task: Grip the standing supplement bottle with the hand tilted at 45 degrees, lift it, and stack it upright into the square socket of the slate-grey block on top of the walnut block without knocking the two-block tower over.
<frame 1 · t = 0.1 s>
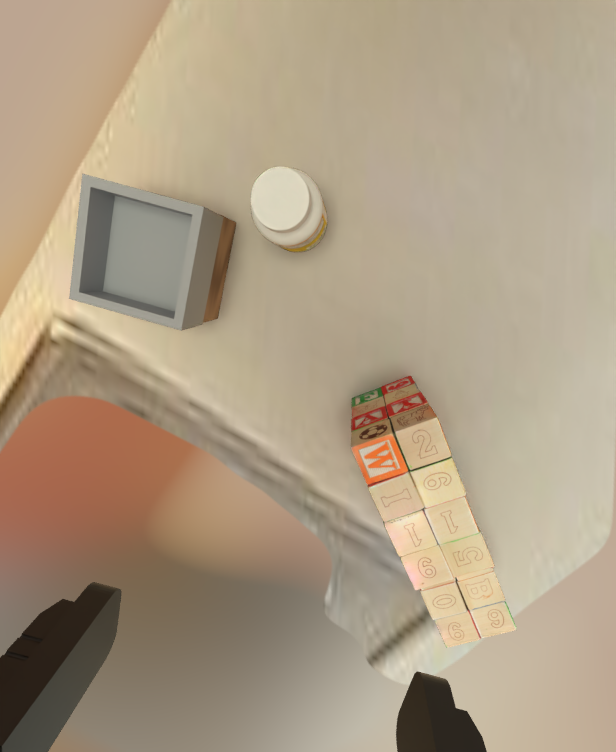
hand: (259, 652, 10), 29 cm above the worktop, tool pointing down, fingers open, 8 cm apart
stack of blocks: (417, 477, 40), on the worktop
tower top: (161, 258, 33), point 4 cm above the worktop, touching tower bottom
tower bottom: (182, 260, 37), on the worktop, touching tower top
supplement bottle: (298, 221, 35), on the worktop
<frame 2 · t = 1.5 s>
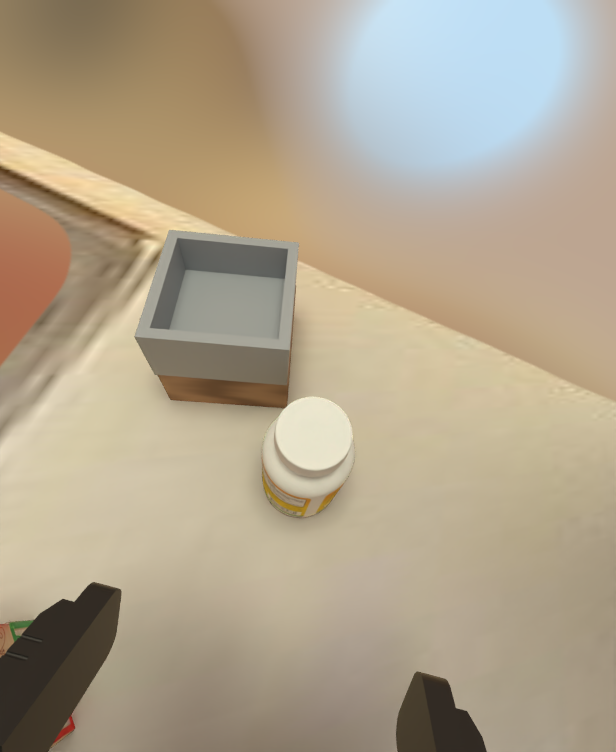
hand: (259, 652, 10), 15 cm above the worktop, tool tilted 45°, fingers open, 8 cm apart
tower top: (230, 326, 29), point 4 cm above the worktop, touching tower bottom
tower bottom: (236, 357, 33), on the worktop, touching tower top
supplement bottle: (300, 480, 28), on the worktop
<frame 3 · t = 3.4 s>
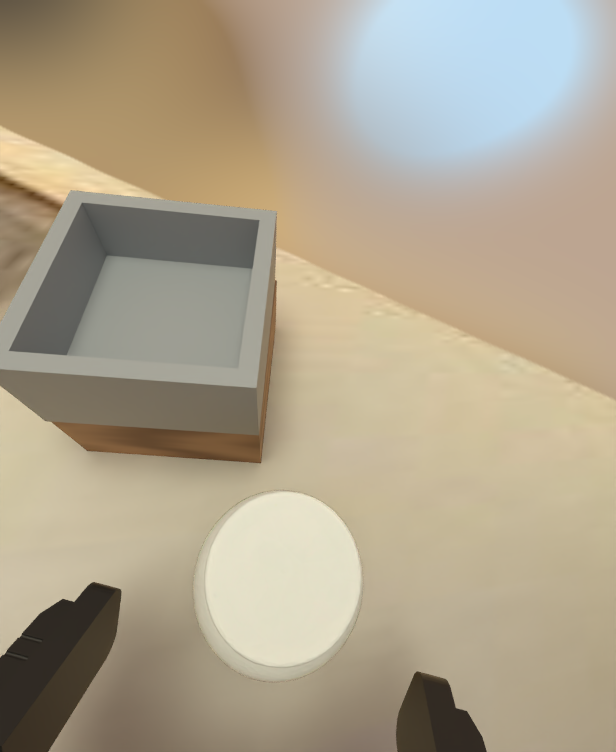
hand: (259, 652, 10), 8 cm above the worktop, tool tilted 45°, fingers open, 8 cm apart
tower top: (175, 341, 19), point 4 cm above the worktop, touching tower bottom
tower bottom: (192, 383, 23), on the worktop, touching tower top
supplement bottle: (275, 582, 18), on the worktop
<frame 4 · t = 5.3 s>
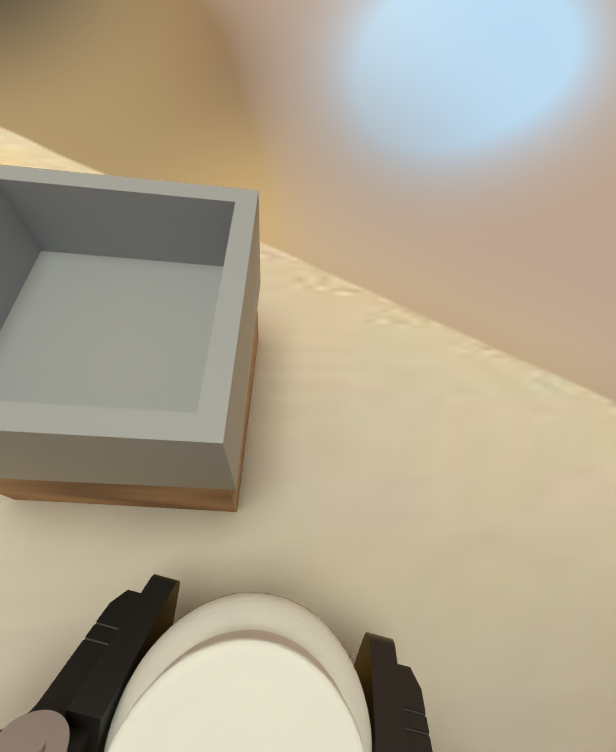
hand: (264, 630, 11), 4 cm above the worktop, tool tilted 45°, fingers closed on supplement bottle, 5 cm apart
tower top: (129, 362, 15), point 4 cm above the worktop, touching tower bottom
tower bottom: (154, 409, 19), on the worktop, touching tower top
supplement bottle: (251, 679, 14), on the worktop, touching gripper
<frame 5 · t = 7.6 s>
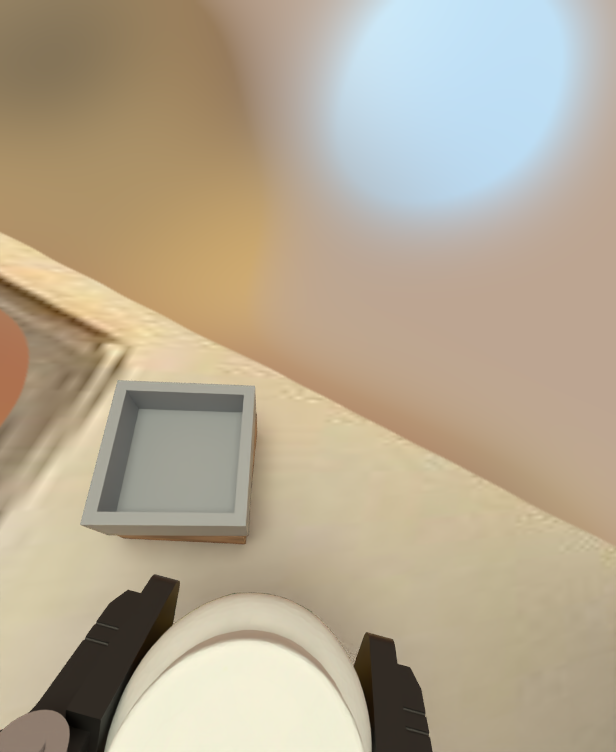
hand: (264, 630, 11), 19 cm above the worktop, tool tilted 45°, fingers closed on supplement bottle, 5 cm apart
tower top: (188, 468, 28), point 4 cm above the worktop, touching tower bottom
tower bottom: (196, 482, 32), on the worktop, touching tower top
supplement bottle: (251, 679, 14), point 15 cm above the worktop, touching gripper
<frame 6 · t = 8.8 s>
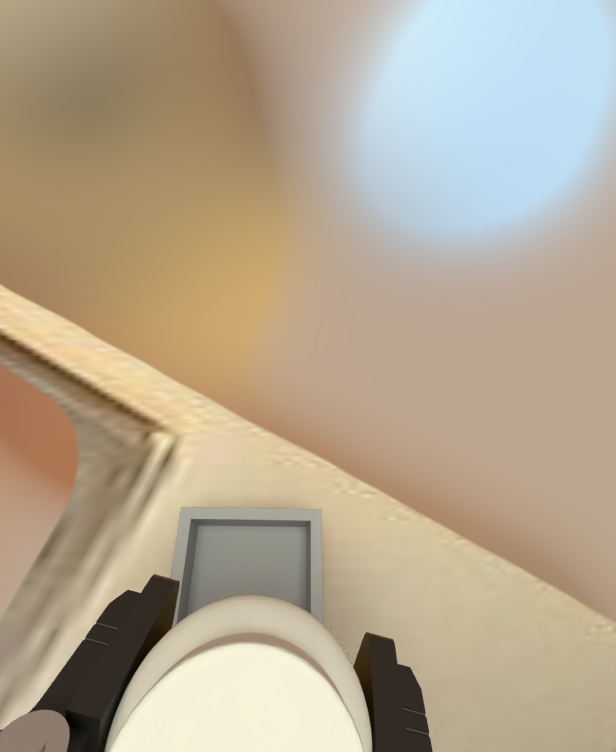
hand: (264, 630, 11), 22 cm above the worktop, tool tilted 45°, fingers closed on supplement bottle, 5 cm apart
tower top: (250, 587, 27), point 4 cm above the worktop, touching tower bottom
supplement bottle: (251, 681, 14), point 18 cm above the worktop, touching gripper
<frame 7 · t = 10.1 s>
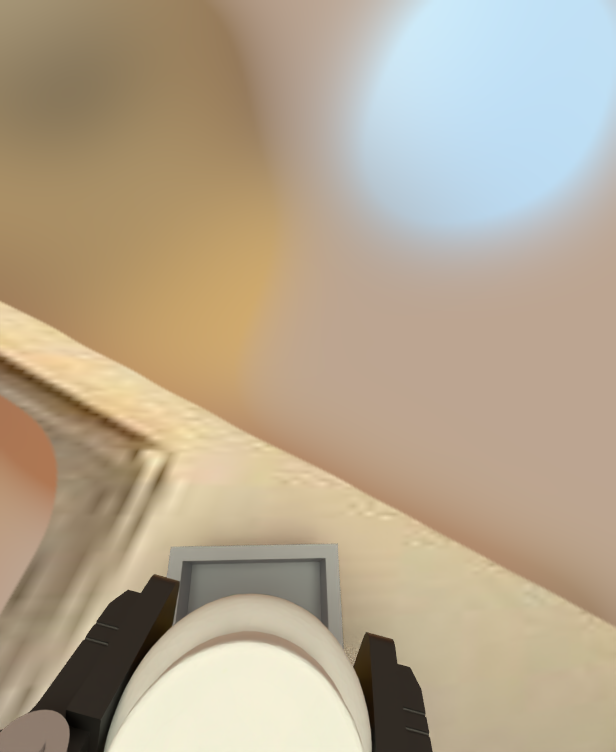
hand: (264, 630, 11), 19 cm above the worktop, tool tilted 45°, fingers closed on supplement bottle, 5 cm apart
tower top: (255, 636, 23), point 4 cm above the worktop
supplement bottle: (251, 680, 14), point 14 cm above the worktop, touching gripper
when the fingers open (10 cm above the worktop, at t = 12.7 s): supplement bottle stays where it is, resting on tower top.
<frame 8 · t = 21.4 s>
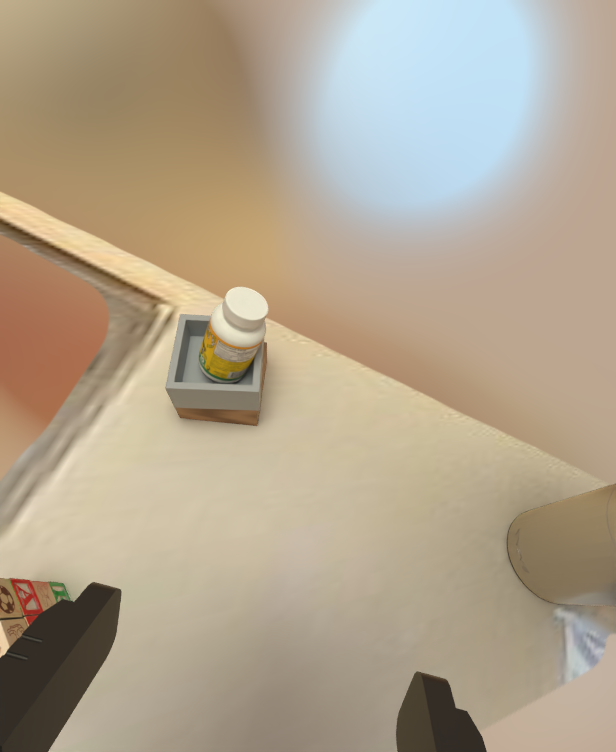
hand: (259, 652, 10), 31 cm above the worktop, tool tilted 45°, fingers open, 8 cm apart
tower top: (222, 372, 44), point 4 cm above the worktop, touching supplement bottle, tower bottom
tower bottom: (225, 389, 48), on the worktop, touching tower top
supplement bottle: (222, 364, 42), point 6 cm above the worktop, touching tower top
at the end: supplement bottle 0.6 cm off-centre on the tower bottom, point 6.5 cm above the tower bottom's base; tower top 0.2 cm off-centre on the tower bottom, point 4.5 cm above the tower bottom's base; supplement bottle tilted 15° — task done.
